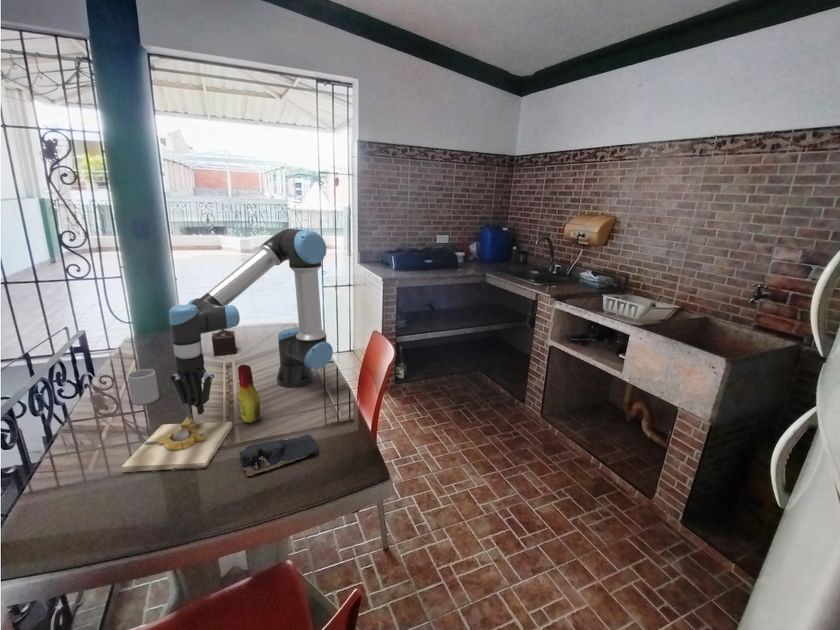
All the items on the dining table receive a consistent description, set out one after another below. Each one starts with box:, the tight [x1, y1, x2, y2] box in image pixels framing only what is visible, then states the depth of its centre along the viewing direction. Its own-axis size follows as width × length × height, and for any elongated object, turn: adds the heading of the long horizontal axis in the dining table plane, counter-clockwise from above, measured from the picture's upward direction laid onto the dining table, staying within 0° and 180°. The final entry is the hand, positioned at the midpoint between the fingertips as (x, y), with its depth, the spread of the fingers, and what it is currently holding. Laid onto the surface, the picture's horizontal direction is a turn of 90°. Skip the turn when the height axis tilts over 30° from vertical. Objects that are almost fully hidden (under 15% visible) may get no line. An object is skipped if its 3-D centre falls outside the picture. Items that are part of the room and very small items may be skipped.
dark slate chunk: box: [238, 433, 318, 471], centre depth 118 cm, size 15×22×5 cm
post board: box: [121, 421, 234, 473], centre depth 119 cm, size 22×22×5 cm
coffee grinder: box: [211, 329, 238, 357], centre depth 199 cm, size 16×11×18 cm
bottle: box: [237, 364, 261, 424], centre depth 136 cm, size 12×6×20 cm, turn 34°
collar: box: [158, 408, 205, 450], centre depth 122 cm, size 12×16×5 cm
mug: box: [127, 368, 160, 406], centre depth 149 cm, size 12×8×11 cm
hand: (198, 422), depth 127 cm, fingers closed
